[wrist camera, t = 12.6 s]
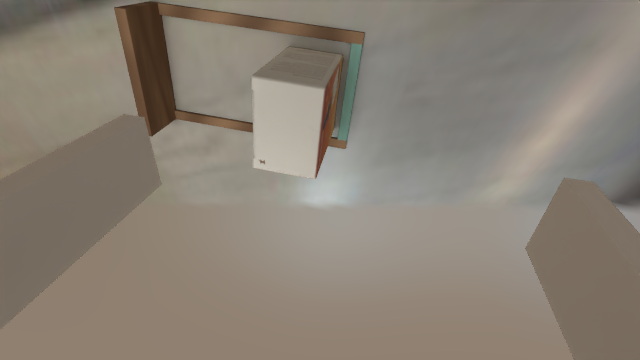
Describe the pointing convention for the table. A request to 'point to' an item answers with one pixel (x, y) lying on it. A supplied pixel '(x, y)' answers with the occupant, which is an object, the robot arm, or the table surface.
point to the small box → (295, 110)
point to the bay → (154, 73)
